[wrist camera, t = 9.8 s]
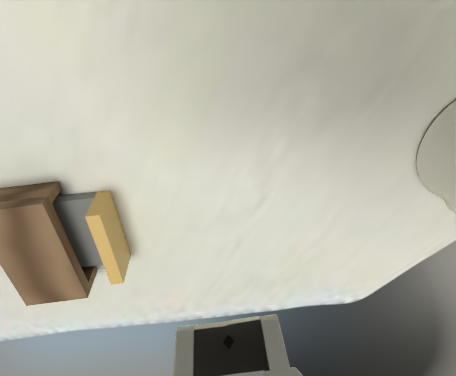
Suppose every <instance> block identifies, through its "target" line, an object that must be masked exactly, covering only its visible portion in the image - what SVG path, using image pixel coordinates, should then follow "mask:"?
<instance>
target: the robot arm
mask: <svg viewBox="0 0 456 376" xmlns="http://www.w3.org/2000/svg"><path fill="white" fill-rule="evenodd" d="M417 173H418V176H419V179H420V181H421V182H422V184H423V185H424V186H425V187H426V188H427V189H428V190H429V191H431V192H432V193H434V194H436V195H438V196H440V197H441V198H443V199H444V200H445V202H446V204H447V206H448V207H449V209H450V210H452V211H453V212H455V213H456V100H455V101H454V102H453V103H452V104H450V105H449V106H448V107H447V108H446V109H445V110H444V111H443V112H442V113H441V114H440V115H439V116H438V117H437V118H436V119H435V120H434V122H433V123H432V124H431V126H430V127H429V129H428V130H427V132H426V134H425V135H424V137H423V140H422V142H421V144H420V147H419V150H418V155H417ZM173 376H303V375H302V374H301V373H300V372H299V371H298V370H297V369H296V368H294V367H293V368H290V366H289V362H288V358H287V353H286V350H285V345H284V341H283V337H282V332H281V328H280V324H279V320H278V317H277V315H276V314H275V315H268V316H261V317H259V316H257V317H250V318H243V319H236V320H229V321H226V322H217V323H208V324H199V325H190V326H182V327H178V328H177V332H176V342H175V357H174V372H173Z"/></svg>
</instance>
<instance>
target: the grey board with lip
mask: <svg viewBox="0 0 456 376" xmlns="http://www.w3.org/2000/svg"><path fill="white" fill-rule="evenodd" d="M52 205H53V207H54V209H55V212H56V214H57V216H58V218H59V220H60V222H61V224H62V227H63V229H64V231H65V233H66V235H67V237H68V240H69V242H70V244H71V246H72V248H73V250H74V253H75V255H76V257H77V259H78V261H79V263H80V265H81V267H88V266H97V265H104V268H105V270H106V273H107V276H108V278H109V281H110V283H111V284H118V283H124V279H125V275H126V271H127V267H128V264H129V260H130V256H131V254H130V251H129V248H128V245H127V241H126V238H125V235H124V232H123V229H122V226H121V223H120V219H119V216H118V213H117V210H116V207H115V204H114V201H113V197H112V194H111V191H101V192H91V193H82V194H73V195H64V196H57V197H56V198H55V200H54V201H53V203H52Z"/></svg>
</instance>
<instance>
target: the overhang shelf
mask: <svg viewBox="0 0 456 376" xmlns="http://www.w3.org/2000/svg"><path fill="white" fill-rule="evenodd" d="M61 190H62V188H61V186H60V183H59V181H58V182H50V183H42V184H34V185H26V186H18V187H10V188H2V189H0V265H1V266H2V268H3V269H4V271H5V273H6V274H7V276H8V277H9V279H10V280H11V282H12V284H13V285H14V287H15V288H16V290H17V291H18V293H19V295H20V296H21V298H22V299H23V301H24V302H25V304H26V306H28V305H35V304H43V303H51V302H59V301H67V300H74V299H82V298H88V295H89V293H90V290H91V287H92V284H93V281H94V279H95V276H96V273H97V269H96V267H95V266H88V267H81V265H80V263H79V261H78V259H77V257H76V255H75V253H74V250H73V248H72V246H71V244H70V242H69V240H68V237H67V235H66V233H65V231H64V229H63V227H62V224H61V222H60V220H59V218H58V216H57V214H56V212H55V209H54V207H53V205H52V203H53V201H54V200H55V198H56V197H57V195H58V194H59V192H60V191H61Z"/></svg>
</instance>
